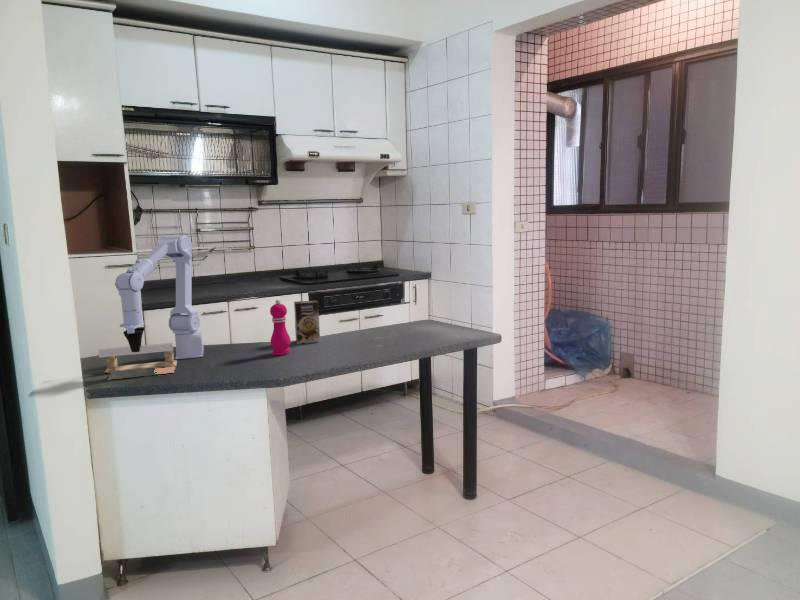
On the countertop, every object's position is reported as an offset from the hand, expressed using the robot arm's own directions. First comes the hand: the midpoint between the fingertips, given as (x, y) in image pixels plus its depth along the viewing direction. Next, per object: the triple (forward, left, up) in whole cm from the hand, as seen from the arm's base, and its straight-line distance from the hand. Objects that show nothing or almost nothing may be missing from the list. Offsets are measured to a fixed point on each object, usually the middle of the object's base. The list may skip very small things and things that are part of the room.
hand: (136, 351), depth 191 cm
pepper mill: (-47, -9, -8) cm, 49 cm away
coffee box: (-59, -25, -8) cm, 65 cm away
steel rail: (0, 0, -1) cm, 1 cm away
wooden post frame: (0, -8, -8) cm, 11 cm away
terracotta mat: (-1, 0, -8) cm, 8 cm away
